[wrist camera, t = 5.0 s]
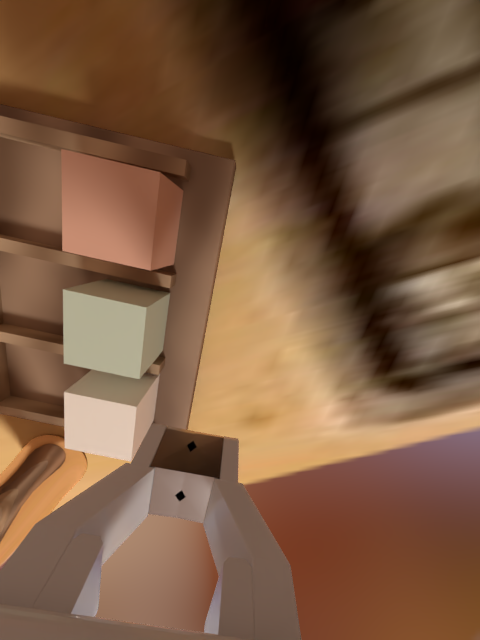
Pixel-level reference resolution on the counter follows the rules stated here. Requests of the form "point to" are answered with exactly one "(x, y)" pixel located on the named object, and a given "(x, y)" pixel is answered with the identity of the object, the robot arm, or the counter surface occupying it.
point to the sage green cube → (114, 326)
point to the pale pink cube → (109, 413)
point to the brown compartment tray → (96, 261)
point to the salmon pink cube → (118, 212)
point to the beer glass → (35, 487)
